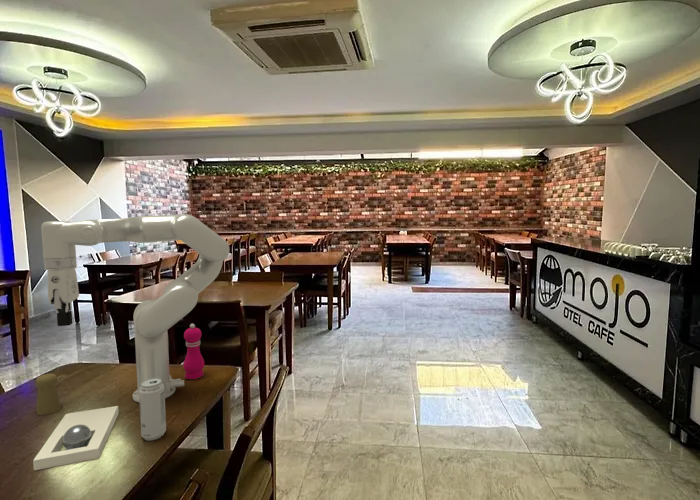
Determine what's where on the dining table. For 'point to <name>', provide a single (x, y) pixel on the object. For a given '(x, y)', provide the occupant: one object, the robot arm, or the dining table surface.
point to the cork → (47, 395)
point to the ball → (76, 437)
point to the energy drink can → (152, 409)
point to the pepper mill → (193, 353)
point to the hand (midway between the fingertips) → (65, 324)
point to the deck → (100, 430)
